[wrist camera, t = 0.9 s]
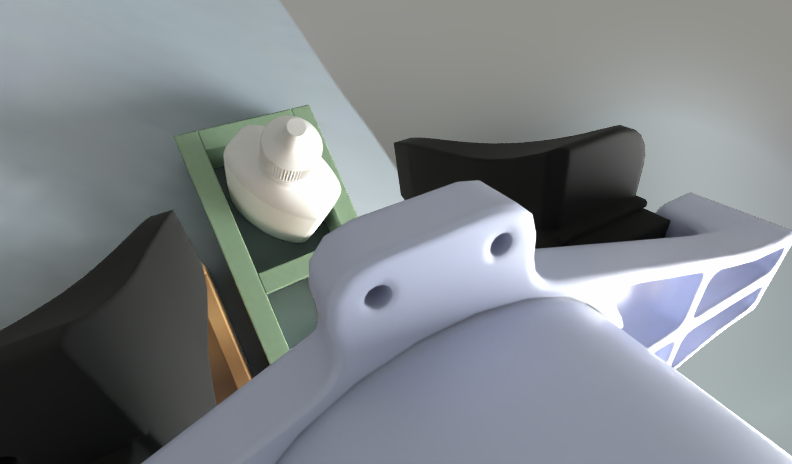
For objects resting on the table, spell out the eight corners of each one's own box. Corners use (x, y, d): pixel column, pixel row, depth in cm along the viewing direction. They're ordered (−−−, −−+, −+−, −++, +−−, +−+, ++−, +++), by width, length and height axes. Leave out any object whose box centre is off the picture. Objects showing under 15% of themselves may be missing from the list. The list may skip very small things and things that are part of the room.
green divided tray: (408, 371, 26) (429, 379, 23) (300, 437, 23) (307, 456, 20) (302, 127, 26) (309, 104, 23) (183, 157, 23) (173, 135, 20)
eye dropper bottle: (265, 263, 24) (278, 221, 13) (221, 185, 24) (197, 76, 13) (326, 232, 26) (383, 171, 15) (285, 159, 26) (311, 44, 15)
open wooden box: (283, 447, 22) (290, 474, 18) (84, 567, 18) (43, 632, 14) (208, 268, 23) (200, 260, 19) (-2, 348, 19) (-63, 357, 15)
